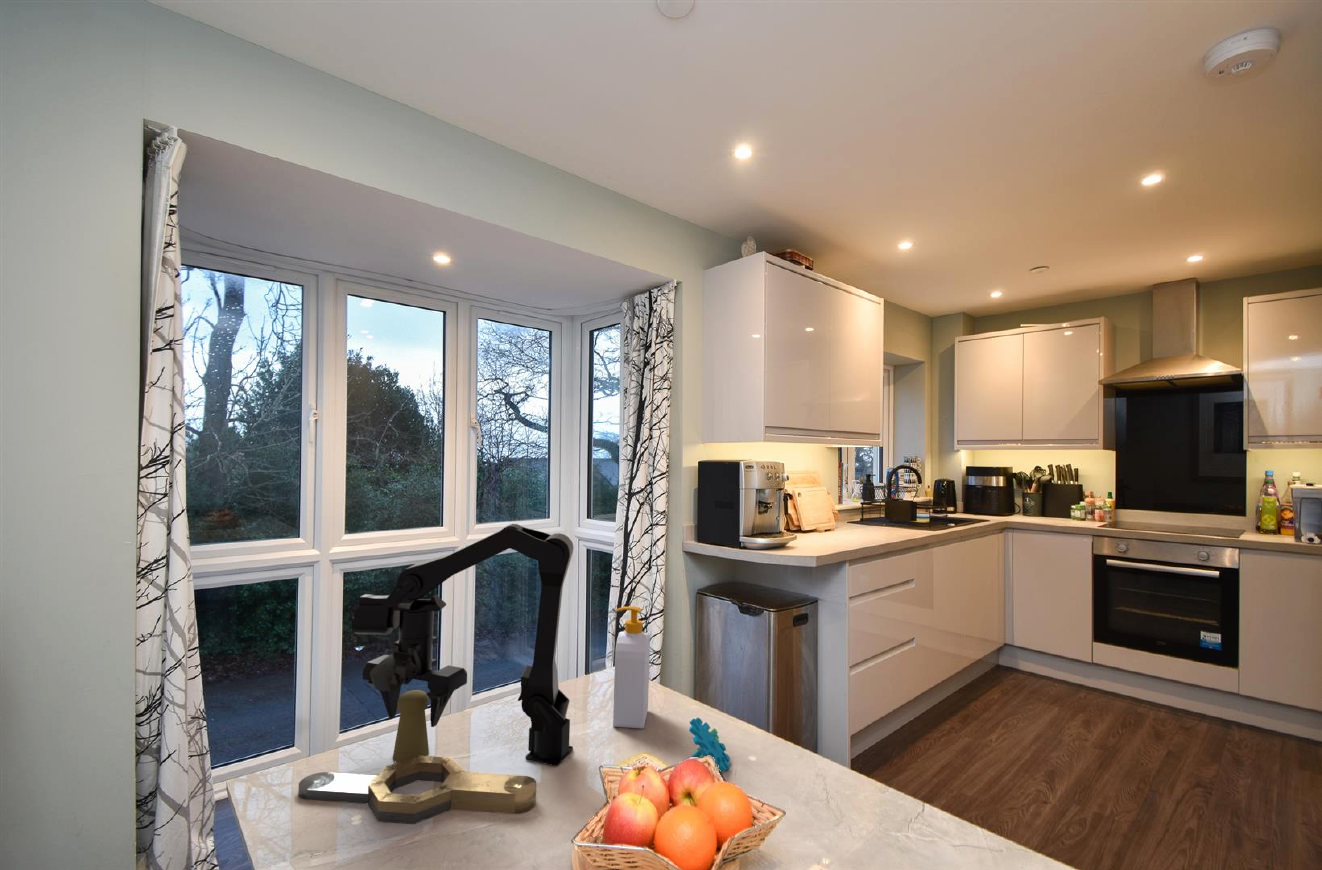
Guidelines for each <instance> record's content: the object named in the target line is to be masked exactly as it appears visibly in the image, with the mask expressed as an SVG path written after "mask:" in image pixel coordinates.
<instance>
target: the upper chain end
mask: <svg viewBox="0 0 1322 870" xmlns="http://www.w3.org/2000/svg"><path fill="white" fill-rule="evenodd" d="M419 771H423V772H438V773H442V774H443V775H444V776H445V778H446V780H445V781H444V782H443V784H442V783H441V785H440V786H437V787H435V788H432V789H429V790H426V791H423V792H421V793H417V794H404V793H403V794H402V793H393V792H392V793H391V792H390V790H389V789H388V787H389V786H390V785H391V784H392V783H393V782H394V780H395V779H397V778H400V777H403V776H407V775H410V774H413V773H416V772H419ZM537 784H538V783H537V780H536V779H535V778H534V777H532V776H528V775H519V774H518V775H517V774H503V773H488V772H487V773H486V772H485V773H484V772H472V771H465V770H464V769H463V768H462V767H461V766H460V765H459V764H458V763H457V762H456V761H455V760H454V758H452V757H448V756H434V755H433V756H432V755H430V756H429V755H427V756H418V757H414V758H411V759H408V760H405V761H402V762H398V763H397V762H395V763H392V764H389V765H386V766H385V768H384V769H382V770H381V772H380V773H378V774H377V777H376V778H375V779H374V780H373V781H372V782H371V783H370V784H369V786H368V795H369V797H370V798H371V800H372V801H373V803H374V805H375V806H376V808H377V809H378V811H381V812H396V813H410V814H415V813H418V812H420V811H423V810H426V809H428V808H431V807H434V806H436V805H439V804H442V803H444V802H447V801H450V800H451V809H450V810H453V811H454V810H455V811H469V812H481V813H496V814H497V813H499V814H515V815H521V814H524V813H528V812H529V811H532V810H533V809H534V808H535V806H536V804H537Z"/></svg>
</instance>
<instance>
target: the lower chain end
mask: <svg viewBox="0 0 1322 870" xmlns="http://www.w3.org/2000/svg"><path fill="white" fill-rule="evenodd" d="M377 776H378V774H377V775H375V774H373V775H372V774H362V773H361V774H358V773H344V772H343V773H342V772H332V771H331V772H329V771H323V772H316V773H312V774H310V775H307V776H306V777H304V778H302V779H301V780H300V781H299V783H298V793H297V794H298V798H300V799H302V800H309V801H324V802H337V803H339V802H340V803H351V804H353V803H354V804H367V806H368V807H369V809H370V810H371V812H372V814H373V816H374V817H375V819H376V821H378V823H379V822H380V823H393V824H404V825H405V824H406V825H407V824H408V825H415V824H418V823H420V822H423V821H426V820H428V819H431V818H433V817H436V816H439V815H442V814H445V813H447V812H448V811H451V810H452V809H451V800H450V801H447V802H444V803H442V804H439V805H436V806H434V807H431V808H428V809H426V810H423V811H420V812H418V813H415V814H410V813H396V812H381V811H378V809H377V808H376V806H375V805H374V803H373V801H372V800H371V798H370V797H369V795H368V786H369V784H370V783H371V782H372V781H373V780H374V779H375V778H376V777H377ZM445 780H446V778H445V776H444V775H443V774H442V773H438V772H423V771H419V772H416V773H413V774H410V775H407V776H403V777H400V778H397V779H395V780H394V782H393V783H392V784H391V785H390V786H389V787H388V789H389V790H390V792H391V793H392V794H393V792H394V791H395V790H396V789H397V788H400V787H401V788H402V787H403V786H407V785H409V784H412V783H415V781H416V782H419V781H422V782H424V781H425V782H439V783H441V785H442V784H443V782H444V781H445Z"/></svg>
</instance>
